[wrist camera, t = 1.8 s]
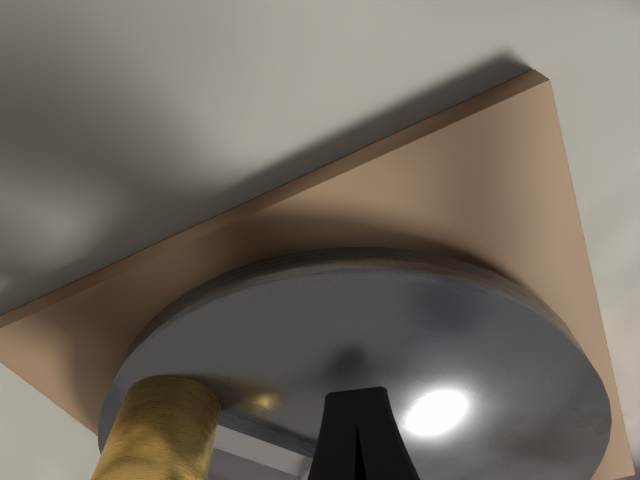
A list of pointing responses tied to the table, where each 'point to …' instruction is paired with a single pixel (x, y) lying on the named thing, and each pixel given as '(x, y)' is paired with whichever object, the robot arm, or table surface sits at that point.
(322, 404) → the handwheel
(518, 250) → the base plate
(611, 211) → the table surface
